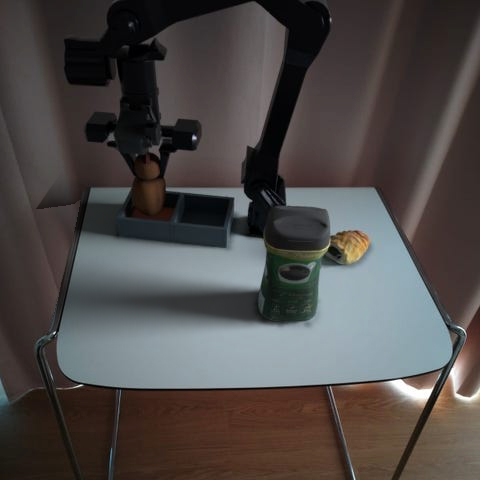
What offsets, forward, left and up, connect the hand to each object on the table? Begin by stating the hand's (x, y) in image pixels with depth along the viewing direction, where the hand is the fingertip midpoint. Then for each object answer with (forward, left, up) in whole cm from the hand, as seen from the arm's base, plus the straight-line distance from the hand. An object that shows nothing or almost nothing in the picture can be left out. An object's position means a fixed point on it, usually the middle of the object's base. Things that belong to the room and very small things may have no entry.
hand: (149, 176), depth 89 cm
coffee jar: (-27, +19, -10) cm, 34 cm away
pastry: (-37, +3, -10) cm, 38 cm away
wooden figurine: (+1, 0, -7) cm, 7 cm away
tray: (-5, 0, -10) cm, 11 cm away
